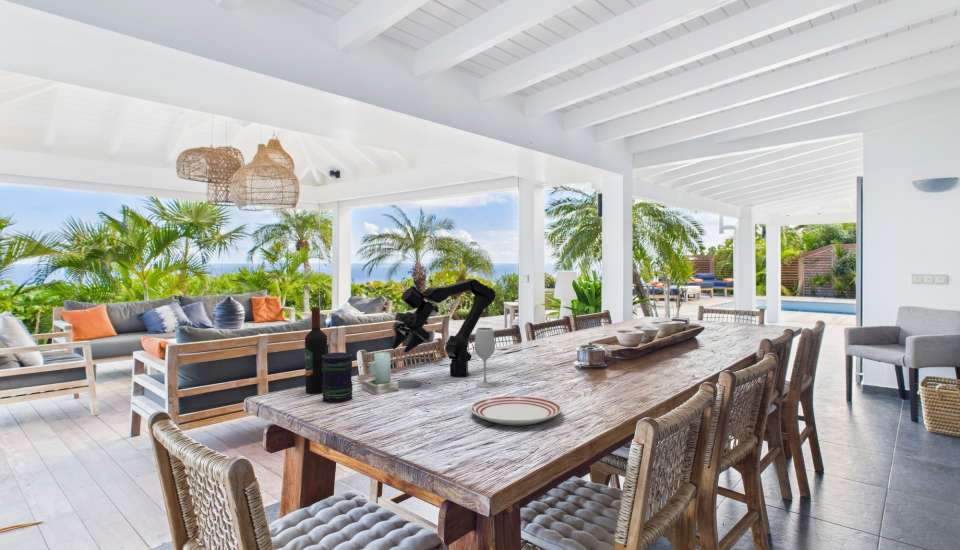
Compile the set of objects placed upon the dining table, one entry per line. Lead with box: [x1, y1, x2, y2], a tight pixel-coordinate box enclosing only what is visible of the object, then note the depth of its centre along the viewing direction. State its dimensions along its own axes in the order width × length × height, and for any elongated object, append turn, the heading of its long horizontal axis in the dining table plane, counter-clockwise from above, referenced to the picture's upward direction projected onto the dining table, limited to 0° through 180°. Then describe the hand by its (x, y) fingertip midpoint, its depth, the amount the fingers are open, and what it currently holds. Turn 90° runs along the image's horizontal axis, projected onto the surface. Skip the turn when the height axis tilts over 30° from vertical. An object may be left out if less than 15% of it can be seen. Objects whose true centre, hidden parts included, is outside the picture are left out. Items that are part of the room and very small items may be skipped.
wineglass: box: [474, 327, 496, 388], centre depth 190 cm, size 8×8×21 cm
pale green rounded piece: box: [368, 351, 392, 385], centre depth 184 cm, size 8×6×13 cm
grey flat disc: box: [397, 379, 422, 389], centre depth 191 cm, size 11×11×1 cm
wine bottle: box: [304, 306, 328, 395], centre depth 182 cm, size 8×8×30 cm
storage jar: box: [322, 352, 354, 404], centre depth 172 cm, size 10×10×15 cm
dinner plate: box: [469, 395, 563, 426], centre depth 153 cm, size 27×27×3 cm
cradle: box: [361, 378, 399, 395], centre depth 184 cm, size 9×10×3 cm
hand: (398, 350), depth 190 cm, fingers open, 9 cm apart
